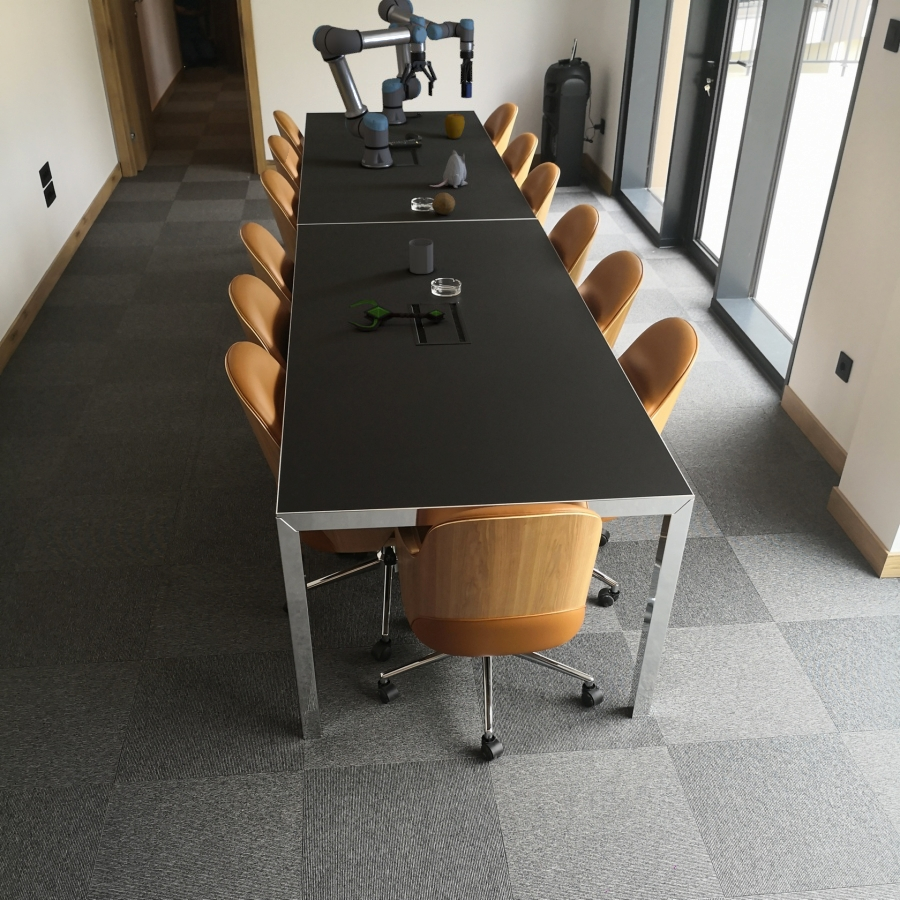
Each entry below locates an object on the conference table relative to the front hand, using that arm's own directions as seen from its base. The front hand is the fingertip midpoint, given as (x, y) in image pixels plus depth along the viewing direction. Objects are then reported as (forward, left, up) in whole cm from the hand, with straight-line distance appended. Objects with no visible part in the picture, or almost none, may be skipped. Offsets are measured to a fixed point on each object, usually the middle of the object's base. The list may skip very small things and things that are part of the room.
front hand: (418, 97), depth 440 cm
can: (-54, -7, -9) cm, 55 cm away
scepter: (+181, +123, -26) cm, 220 cm away
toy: (+50, +52, -26) cm, 77 cm away
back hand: (-54, -7, -8) cm, 55 cm away
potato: (+82, +72, -26) cm, 112 cm away
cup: (+140, +102, -26) cm, 175 cm away
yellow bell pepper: (-31, +1, -26) cm, 41 cm away
